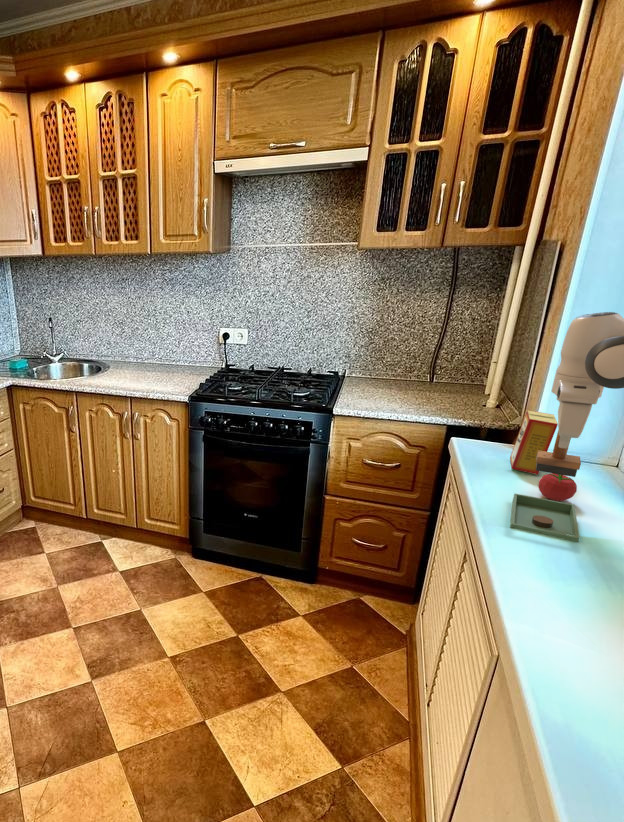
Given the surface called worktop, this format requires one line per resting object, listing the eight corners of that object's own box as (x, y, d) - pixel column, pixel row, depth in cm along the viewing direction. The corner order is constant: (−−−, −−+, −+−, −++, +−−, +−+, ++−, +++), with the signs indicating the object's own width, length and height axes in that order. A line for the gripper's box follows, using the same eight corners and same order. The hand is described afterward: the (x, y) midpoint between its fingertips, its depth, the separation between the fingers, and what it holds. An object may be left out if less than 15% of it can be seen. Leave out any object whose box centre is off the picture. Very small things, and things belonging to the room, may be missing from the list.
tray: (511, 503, 135) (514, 493, 134) (571, 514, 128) (574, 504, 127) (508, 534, 120) (511, 523, 119) (576, 549, 114) (579, 538, 113)
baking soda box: (538, 474, 151) (558, 423, 145) (511, 468, 154) (530, 417, 148) (535, 463, 159) (554, 413, 152) (509, 457, 162) (527, 408, 155)
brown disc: (549, 521, 124) (550, 516, 124) (554, 529, 121) (556, 524, 121) (529, 518, 126) (530, 514, 125) (534, 526, 122) (535, 522, 122)
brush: (534, 470, 125) (544, 428, 121) (534, 464, 128) (544, 422, 125) (576, 477, 120) (589, 434, 116) (576, 470, 124) (587, 428, 120)
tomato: (531, 497, 137) (542, 471, 134) (536, 487, 142) (546, 462, 139) (569, 509, 132) (580, 482, 129) (572, 498, 137) (584, 472, 134)
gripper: (559, 375, 127) (545, 430, 131) (560, 395, 111) (545, 455, 116) (592, 378, 123) (577, 434, 128) (599, 398, 108) (581, 461, 113)
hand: (562, 444), depth 122 cm, fingers closed on brush, 2 cm apart
